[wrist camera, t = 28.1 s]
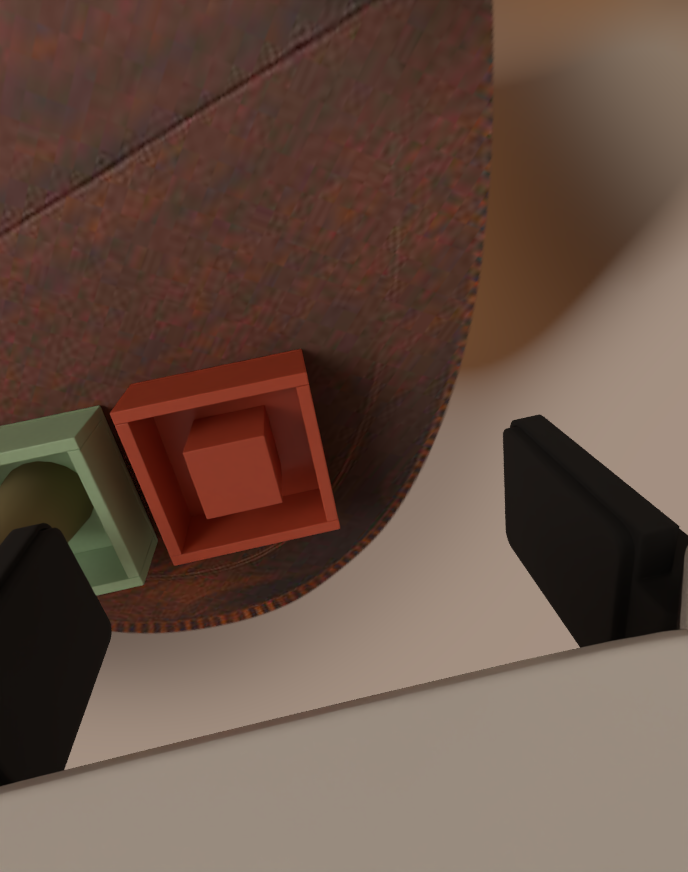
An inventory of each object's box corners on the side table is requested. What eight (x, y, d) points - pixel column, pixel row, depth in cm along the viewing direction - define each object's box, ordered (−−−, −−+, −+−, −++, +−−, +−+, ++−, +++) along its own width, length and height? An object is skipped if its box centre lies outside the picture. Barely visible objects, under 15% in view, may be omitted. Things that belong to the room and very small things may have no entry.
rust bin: (130, 383, 33) (108, 413, 29) (301, 348, 34) (306, 371, 29) (185, 523, 38) (173, 566, 34) (332, 490, 39) (340, 528, 34)
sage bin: (-75, 441, 33) (-129, 480, 28) (100, 405, 33) (74, 437, 29) (8, 573, 38) (-27, 623, 34) (158, 540, 39) (144, 585, 34)
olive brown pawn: (98, 470, 35) (32, 577, 25) (89, 539, 37) (26, 662, 27) (2, 452, 33) (-108, 559, 24) (-1, 525, 36) (-102, 650, 26)
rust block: (193, 419, 34) (182, 453, 30) (264, 404, 34) (264, 435, 30) (214, 480, 37) (206, 520, 32) (281, 465, 37) (282, 503, 32)
